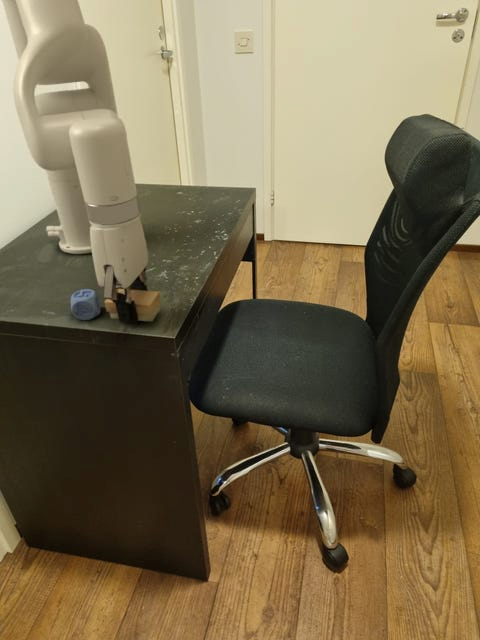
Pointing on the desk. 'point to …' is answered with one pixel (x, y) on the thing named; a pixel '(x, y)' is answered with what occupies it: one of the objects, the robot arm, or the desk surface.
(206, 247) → the desk surface
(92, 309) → the decorative dice
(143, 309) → the tan rectangular brick
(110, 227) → the robot arm
